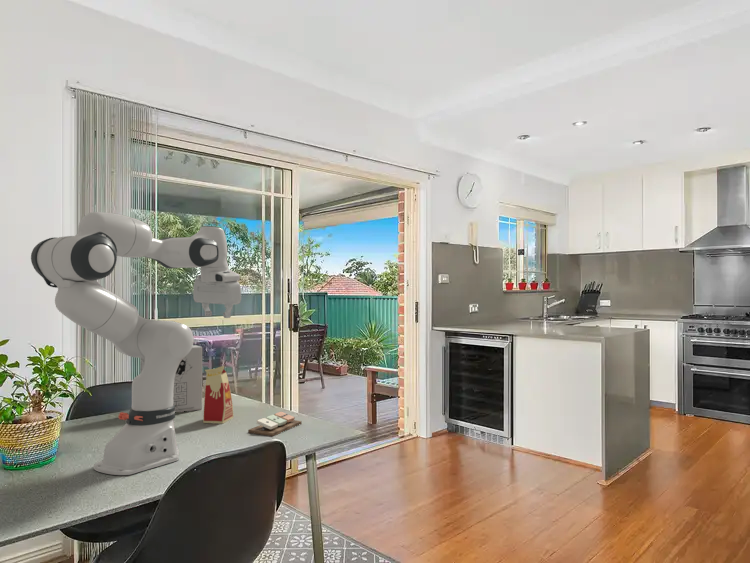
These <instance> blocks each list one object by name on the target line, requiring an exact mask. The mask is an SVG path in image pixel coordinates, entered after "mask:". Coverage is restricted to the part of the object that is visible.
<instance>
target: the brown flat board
mask: <svg viewBox="0 0 750 563" xmlns="http://www.w3.org/2000/svg"><path fill="white" fill-rule="evenodd" d="M299 424H300V425H302V420H295V419H294V420H293V421H290V422H286V423H285V424H283V425H281V426H278V427H276V428H273V429H271V430H270V429H268V428H266V427H264V426H261V425H259V424H258V425H257V426H255V427H253V428H252V427H251V428H250V429H248V430H247V431H248V433H249V434H253V435H254V434H255V435H262V436H269V437H275V436H277V435H279V434H281V432H282V433H284V432H286V431H289V430H291V429H293V428H295V426H296V427H298V426H300V425H299ZM297 425H298V426H297ZM292 427H293V428H292ZM290 428H291V429H290ZM288 429H289V430H288ZM285 430H286V431H285ZM283 431H284V432H283Z"/></svg>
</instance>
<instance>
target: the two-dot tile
mask: <svg viewBox="0 0 750 563" xmlns="http://www.w3.org/2000/svg"><path fill="white" fill-rule="evenodd" d="M265 418H266V419H268V420H270V421H273V422H275V423H277V424H278V426H281V425H283V424H285V423H286V422H287V420H284V419H282V418H280V417H277V416H275V415H274V414H271V415H268V416H265Z"/></svg>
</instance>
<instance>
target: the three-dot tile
mask: <svg viewBox="0 0 750 563" xmlns="http://www.w3.org/2000/svg"><path fill="white" fill-rule="evenodd" d="M273 415H275V416H277V417H280V418H282V419H284V420H287V422H290V421H293V420H295V418H296V417H295V416H293V415H290V414H288V413H286V412H283V411H278V412H276V413H274V414H273Z"/></svg>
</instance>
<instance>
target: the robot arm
mask: <svg viewBox="0 0 750 563" xmlns="http://www.w3.org/2000/svg"><path fill="white" fill-rule="evenodd" d="M153 236H154V235H153V231H152V228H151V227H150V226H149V224H147V223H146V222H144V221H142V220H141V219H137V218H135V217H131V216H129V215H123V214H119V213H114V212H106V211H92V212H88V213H86V215H84V216H83V217H82V218H81V219H80V221H79V224H78V227H77V233H76V235H67V236H59V237H49V238H46V239H44V240H42V241H40V242H38V243H37V244H36V245H35V246H34V248H33V249H32V251H31V253H30V254H31V255H30V261H31V265H32V267H33V269H34V270H35V272H36V273H37V274H38V275H39V276H40V277H41V278H42V279H43V280H44V282H45V284H46V285H47V286H49V287H51V288H56V289H57V292H56V294H55V296H54V297H55V298H54V305H55V308H56V309H57V310H58V311H59V312H60V314H62V315H63V316H64V317H65V318H67V319H69V320H70V321H72V322H73V323H75V324H76V325H78V326H79V327H81V328H83V329H85V330H87V331H89V332H91V333H94V334H96V335H98V336H99V337H101V338H103V339H105V340H107V341H109V342H110V343H112V344H113V345H114V348H115V349H116V351H117V352H119V353H120V354H123V355H125V356H128V357H132V358H136V359H137V358H138V359H140V358H145V363H144V367H143V370H142V372H141V373H139V374H137V375H136V376H135V377H134V378H133V380H132V381H131V407H130V409H129V412H123V411H121V412H119V414H118V416H117V417H118V419H119V420H123V421H125V424H124V425H123V426H122V428H121V429H119V431H118V432H116V434H115V435H113V437H112V438H111V439H110V440H109V441H108V442H107V443H106V444H105V447H104V451H103V458H102V459H103V460H100V461H97V462H95V463H94V464H93V469H94V470H95V471H97V472H99V473H103V474H106V475H107V474H108V475H115V476H129V475H130V476H131V475H134V474H137V473H140V472H143V471H147V470H151V469H154V468H158V467H160V466H164V465H167V464H170V463H174V462H177V461H179V459H180V458H179V455H180V450H179V448H178V443H177V437H176V429H175V421H174V420H175V418H176V413H175V405H174V404H173V399H174V379H175V375H176V371H177V368H178V366H179V364H180V362H181V361H182V359H183V358H184V357H185V356H186V355H187V354H188V353H189V352H190V351H191V349H192V347H193V345H194V341H195V340H194V338H195V337H194V334H193V331H192V329H191V328H190V326H188V325H186V324H184V323H181V322H177V321H173V320H157V319H155V320H154V319H149V318H146V317H143V316H141V315H139V311H138V308H137V307H136V305H134V304H133V303H131V302H129V301H127V300H126V299H124V298H123V297H121V296H119V295H118V294H116V293H114V292H113V291H110V290H108V289H106V288H104V287H103V286H102V285H101V284H100V283H99V282H98V281H99V280H102V279H104V278H106V277H108V276H110V275H111V274H112V273H113V271H114V270H115V268H116V264H117V259H118V257H121V258H130V259H131V258H143V257H144V258H146V259H147V258H148V259H151V260H154V261H156V262H157V263H158V264H159V265H161V266H162V267H164V268H166V269H170V270H171V269H178V268H179V269H180V268H181V269H182V268H183V269H184V268H185V269H186V268H188V269H189V268H200V274H199V275H197V276H196V277H195V278H194V283H193V289H192V292H193V294H192V296H193V300H194V303H201V307H202V309H203V311H204V316H205V317H211V316H213V312H212V310H211V309H210V304H211V305H212V304H214V305H215V304H216V305H224V308H225V311H224V312H223V313H222V315H223V319H230V318H231V316H232V315H231V313H232V310H233V307H234V305H235V306H236V305H239V304H240V303H241V301H242V290H241V284H240V282H239V281H240V279H241V278H240V276H241V275H240V274H239V273H237V272H236V271H232V270H231V269H230V268H229V263H228V260H227V256H228V243H227V236H226V233H225V231H224V229H223V228H221V227H219V226H215V225H214V226H213V225H202V226H200V227H199V230H198V231H197V232H196V233H194V234H193V235H190V236H188V237H187V236H185V237H167V236H166V237H163V238H161V239H157V238H155V237H153Z"/></svg>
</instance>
